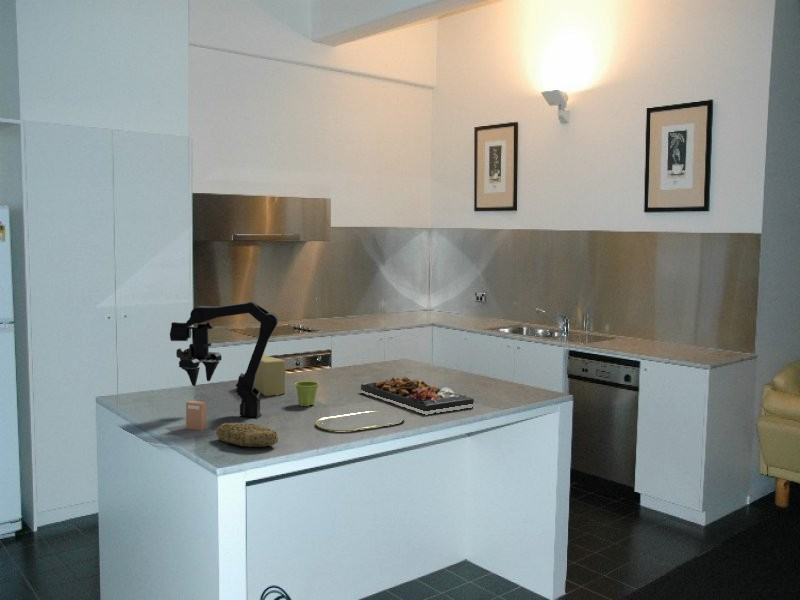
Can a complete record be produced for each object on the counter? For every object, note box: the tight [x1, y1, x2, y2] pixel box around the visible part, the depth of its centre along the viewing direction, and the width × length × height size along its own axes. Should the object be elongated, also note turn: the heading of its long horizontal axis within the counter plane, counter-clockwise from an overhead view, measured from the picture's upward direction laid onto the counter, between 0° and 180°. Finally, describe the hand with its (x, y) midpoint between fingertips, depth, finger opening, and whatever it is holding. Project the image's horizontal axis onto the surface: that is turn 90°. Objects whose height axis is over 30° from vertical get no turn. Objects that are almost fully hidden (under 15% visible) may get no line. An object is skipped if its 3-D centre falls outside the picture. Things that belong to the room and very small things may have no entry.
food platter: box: [360, 376, 475, 411], centre depth 308 cm, size 45×25×10 cm, turn 36°
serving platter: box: [315, 410, 392, 431], centre depth 268 cm, size 19×35×2 cm, turn 126°
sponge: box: [215, 421, 280, 448], centre depth 237 cm, size 13×8×20 cm
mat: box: [165, 424, 217, 440], centre depth 249 cm, size 16×12×1 cm
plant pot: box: [294, 380, 320, 407], centre depth 293 cm, size 9×9×9 cm
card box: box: [185, 400, 207, 430], centre depth 252 cm, size 3×6×9 cm, turn 70°
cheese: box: [255, 354, 286, 397], centre depth 316 cm, size 22×10×15 cm, turn 36°
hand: (201, 383), depth 269 cm, fingers open, 9 cm apart
